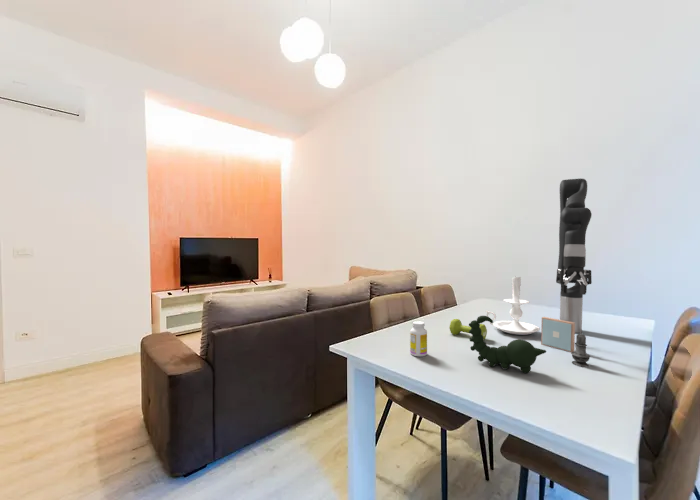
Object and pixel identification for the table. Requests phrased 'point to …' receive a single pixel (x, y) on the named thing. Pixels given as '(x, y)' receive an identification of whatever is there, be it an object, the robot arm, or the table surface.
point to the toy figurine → (503, 349)
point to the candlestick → (515, 314)
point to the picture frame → (558, 334)
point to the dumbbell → (464, 328)
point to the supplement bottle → (418, 339)
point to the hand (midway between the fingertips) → (573, 294)
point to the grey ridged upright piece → (580, 352)
